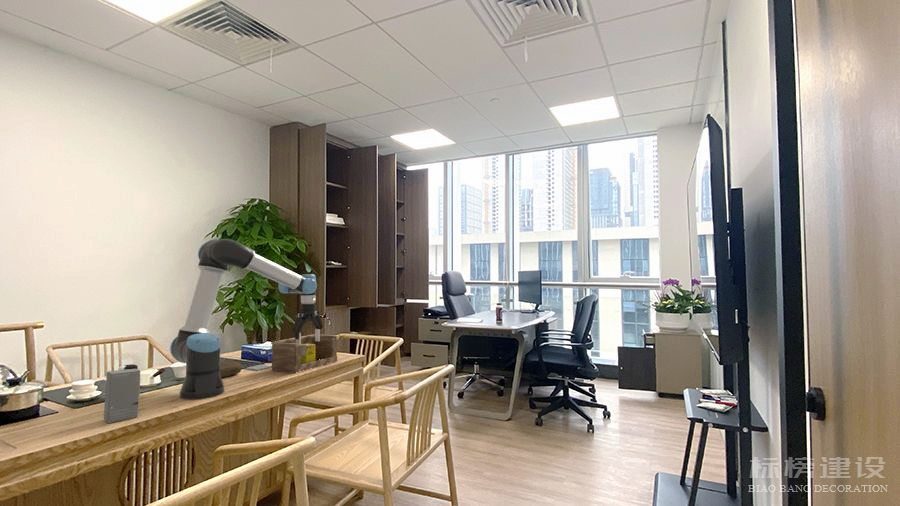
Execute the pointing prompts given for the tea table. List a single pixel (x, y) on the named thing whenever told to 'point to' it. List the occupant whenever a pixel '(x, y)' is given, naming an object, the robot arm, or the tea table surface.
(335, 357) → the crate
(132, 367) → the medicine bottle
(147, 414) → the tea table surface
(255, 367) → the pad
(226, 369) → the stone weight
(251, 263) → the robot arm
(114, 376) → the skincare box
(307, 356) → the supplement box
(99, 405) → the tea table surface
